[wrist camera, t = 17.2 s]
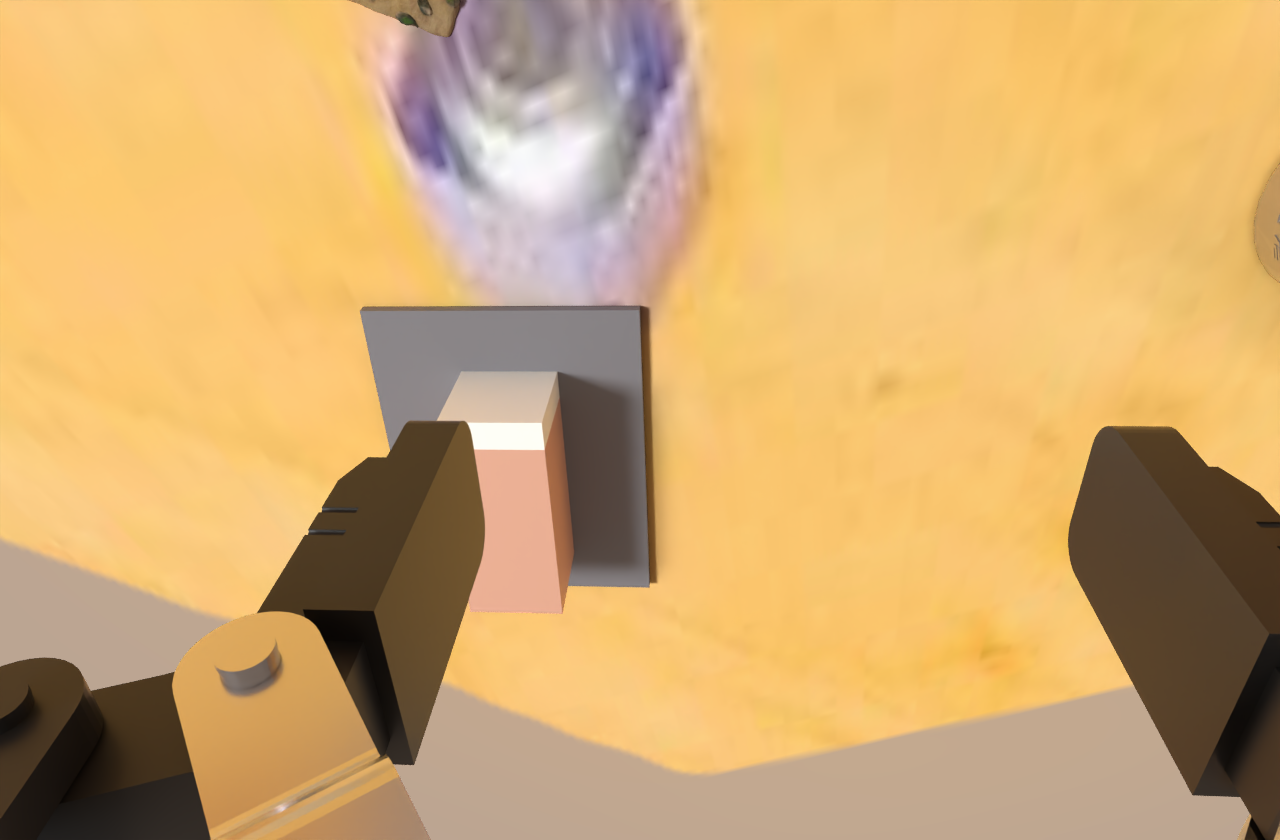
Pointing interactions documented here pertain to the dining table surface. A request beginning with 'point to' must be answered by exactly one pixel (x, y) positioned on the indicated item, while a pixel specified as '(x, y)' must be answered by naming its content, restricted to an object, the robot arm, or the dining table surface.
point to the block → (518, 488)
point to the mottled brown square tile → (419, 13)
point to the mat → (589, 398)
